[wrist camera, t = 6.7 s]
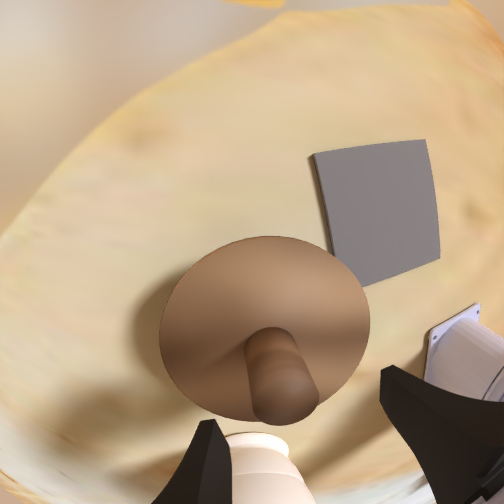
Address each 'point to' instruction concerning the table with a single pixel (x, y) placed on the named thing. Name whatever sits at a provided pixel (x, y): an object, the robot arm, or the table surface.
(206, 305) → the lid
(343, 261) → the mat
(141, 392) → the table surface
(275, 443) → the jar
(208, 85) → the table surface
